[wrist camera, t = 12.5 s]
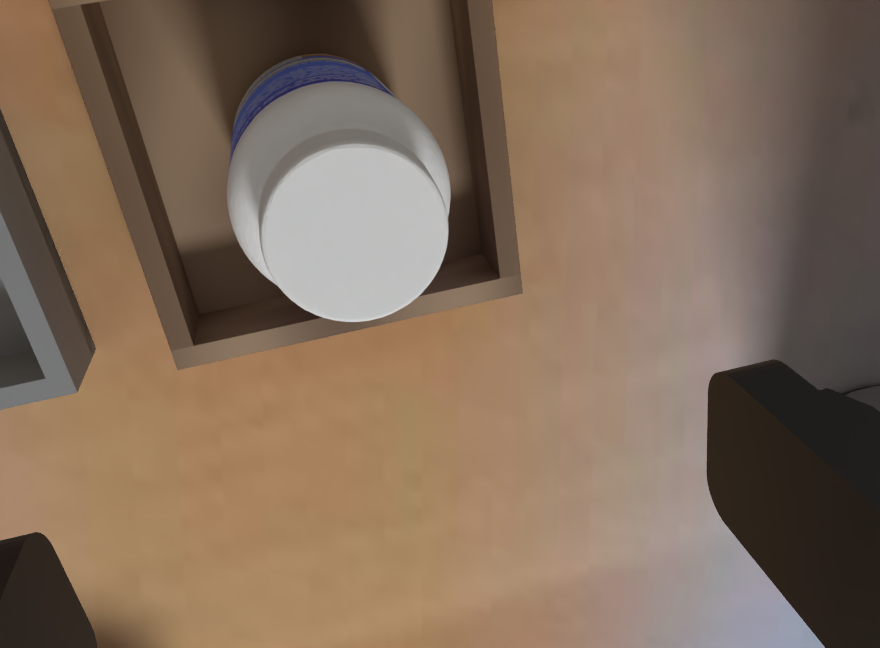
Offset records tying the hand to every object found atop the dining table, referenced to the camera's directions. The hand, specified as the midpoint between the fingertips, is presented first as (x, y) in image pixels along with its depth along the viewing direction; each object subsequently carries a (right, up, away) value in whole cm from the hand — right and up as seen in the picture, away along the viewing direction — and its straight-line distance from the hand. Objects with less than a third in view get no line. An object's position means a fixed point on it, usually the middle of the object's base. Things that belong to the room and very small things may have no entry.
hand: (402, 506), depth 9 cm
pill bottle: (-3, +8, +15) cm, 18 cm away
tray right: (-4, +8, +16) cm, 18 cm away
